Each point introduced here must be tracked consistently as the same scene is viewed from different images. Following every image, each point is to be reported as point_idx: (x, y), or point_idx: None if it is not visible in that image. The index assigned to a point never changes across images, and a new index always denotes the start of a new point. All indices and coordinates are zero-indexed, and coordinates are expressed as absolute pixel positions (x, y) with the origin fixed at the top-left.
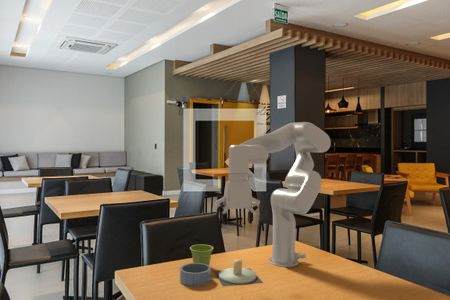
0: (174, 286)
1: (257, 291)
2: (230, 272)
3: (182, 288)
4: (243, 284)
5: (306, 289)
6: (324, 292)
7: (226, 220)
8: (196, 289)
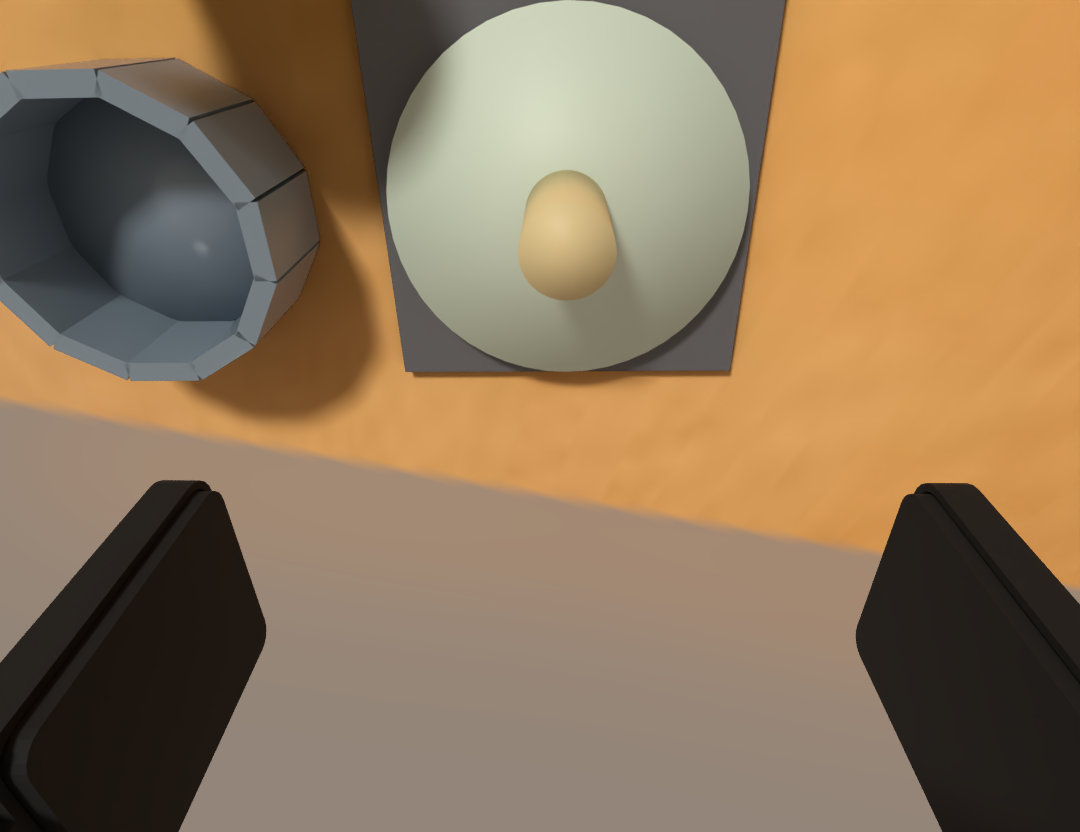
0: None
1: (632, 459)
2: (508, 157)
3: None
4: None
5: None
6: (1032, 544)
7: (212, 731)
8: None
